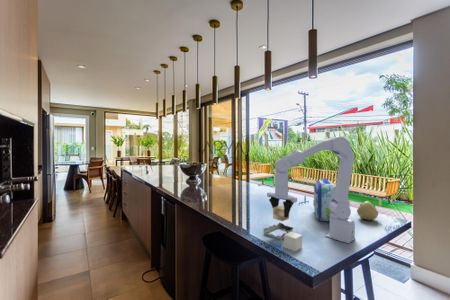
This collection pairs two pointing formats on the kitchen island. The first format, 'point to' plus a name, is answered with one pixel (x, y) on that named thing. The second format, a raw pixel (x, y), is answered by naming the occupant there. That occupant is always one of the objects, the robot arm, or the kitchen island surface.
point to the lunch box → (323, 198)
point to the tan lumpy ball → (367, 211)
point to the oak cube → (279, 213)
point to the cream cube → (293, 241)
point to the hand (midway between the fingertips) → (281, 215)
